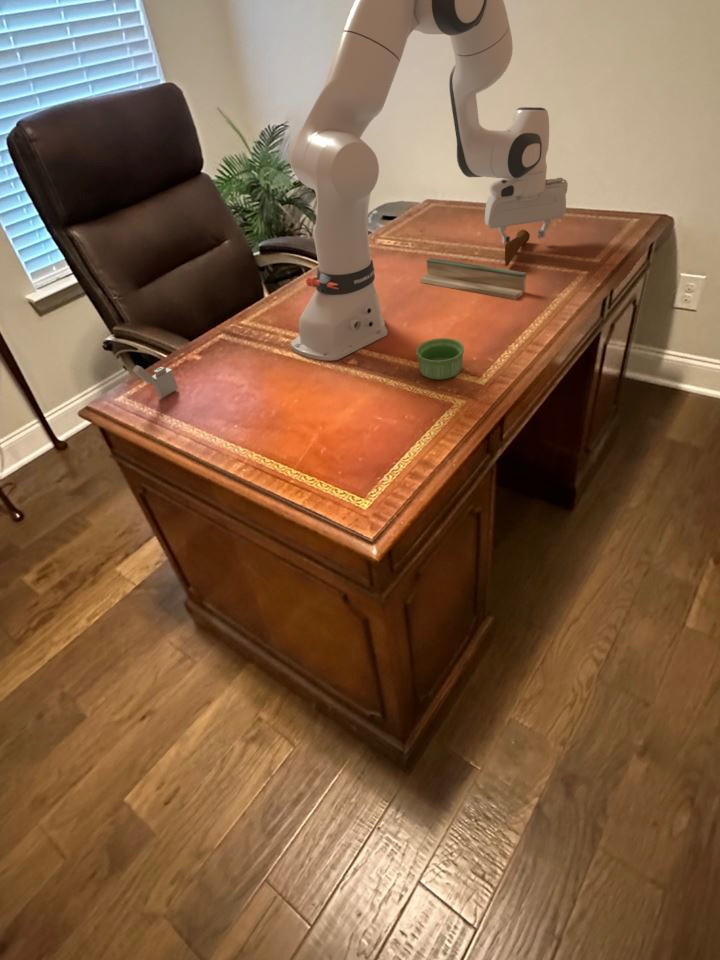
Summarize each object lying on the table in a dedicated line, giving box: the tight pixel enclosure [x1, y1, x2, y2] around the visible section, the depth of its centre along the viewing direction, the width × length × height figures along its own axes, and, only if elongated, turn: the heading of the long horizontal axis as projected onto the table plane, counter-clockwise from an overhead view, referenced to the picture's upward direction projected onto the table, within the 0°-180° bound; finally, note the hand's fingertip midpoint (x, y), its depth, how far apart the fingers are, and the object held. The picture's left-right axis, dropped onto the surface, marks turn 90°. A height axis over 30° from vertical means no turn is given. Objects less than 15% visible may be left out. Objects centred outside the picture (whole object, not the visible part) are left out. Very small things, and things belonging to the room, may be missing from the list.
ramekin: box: [415, 337, 465, 380], centre depth 111 cm, size 9×9×4 cm
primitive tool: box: [504, 229, 531, 267], centre depth 149 cm, size 19×6×4 cm
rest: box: [420, 257, 527, 301], centre depth 139 cm, size 4×26×4 cm, turn 51°
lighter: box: [132, 364, 179, 398], centre depth 115 cm, size 7×2×8 cm, turn 143°
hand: (523, 240), depth 153 cm, fingers open, 8 cm apart
